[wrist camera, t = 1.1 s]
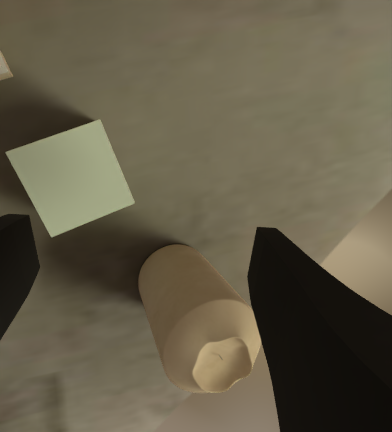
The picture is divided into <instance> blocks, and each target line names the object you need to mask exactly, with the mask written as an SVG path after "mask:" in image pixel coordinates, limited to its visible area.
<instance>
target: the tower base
mask: <svg viewBox="0 0 392 432" xmlns="http://www.w3.org/2000/svg"><path fill="white" fill-rule="evenodd" d="M0 54H1V56H2V58H3V60H4V63H5V65H6V67H7V69H8V71H9V72H7V73H3V74H0V81H1V80H4V79H7V78H10V77H13V75H12V73H11V71H10V69H9V67H8V65H7V63H6V61H5V59H4V57H3V55H2V53H1V51H0Z"/></svg>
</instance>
